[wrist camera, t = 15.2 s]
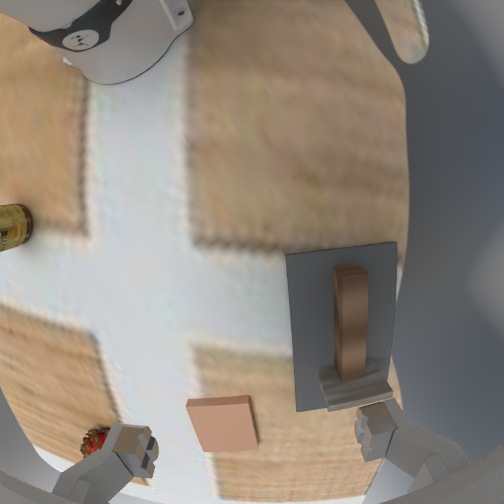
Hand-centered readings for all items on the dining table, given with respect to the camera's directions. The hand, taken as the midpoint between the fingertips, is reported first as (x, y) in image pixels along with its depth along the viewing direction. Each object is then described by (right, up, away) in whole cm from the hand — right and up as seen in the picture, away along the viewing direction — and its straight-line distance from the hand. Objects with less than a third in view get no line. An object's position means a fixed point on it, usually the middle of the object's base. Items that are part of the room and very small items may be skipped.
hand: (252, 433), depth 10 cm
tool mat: (+12, -4, +27) cm, 30 cm away
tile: (-5, -14, +28) cm, 32 cm away
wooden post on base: (+12, -2, +26) cm, 28 cm away
